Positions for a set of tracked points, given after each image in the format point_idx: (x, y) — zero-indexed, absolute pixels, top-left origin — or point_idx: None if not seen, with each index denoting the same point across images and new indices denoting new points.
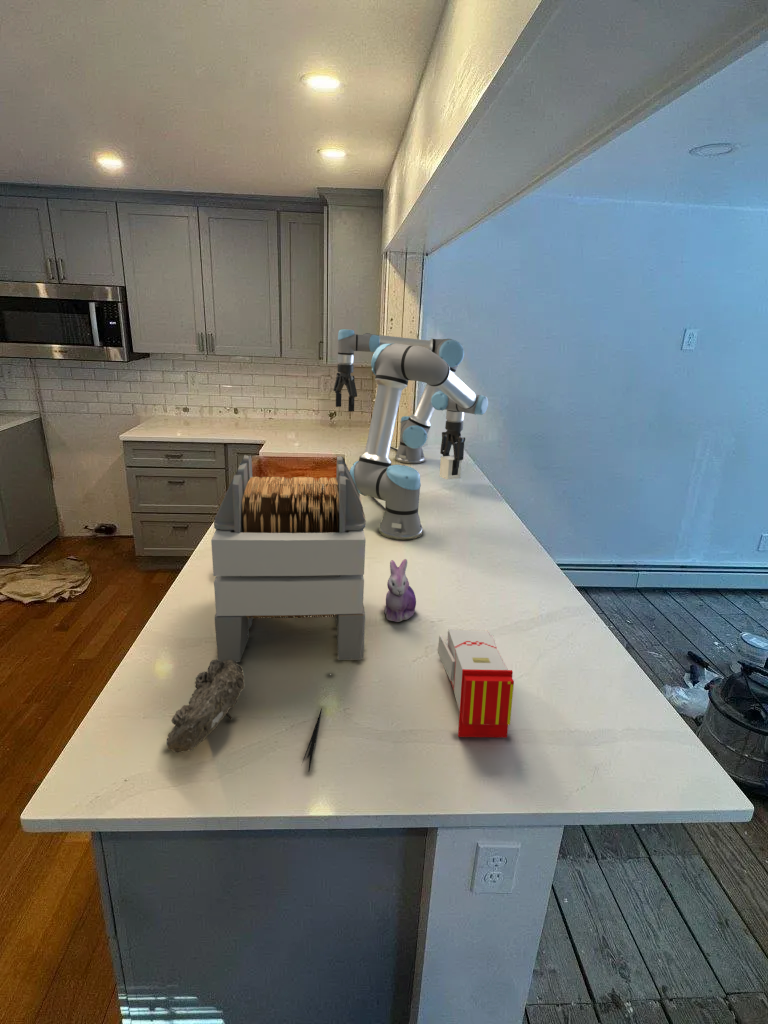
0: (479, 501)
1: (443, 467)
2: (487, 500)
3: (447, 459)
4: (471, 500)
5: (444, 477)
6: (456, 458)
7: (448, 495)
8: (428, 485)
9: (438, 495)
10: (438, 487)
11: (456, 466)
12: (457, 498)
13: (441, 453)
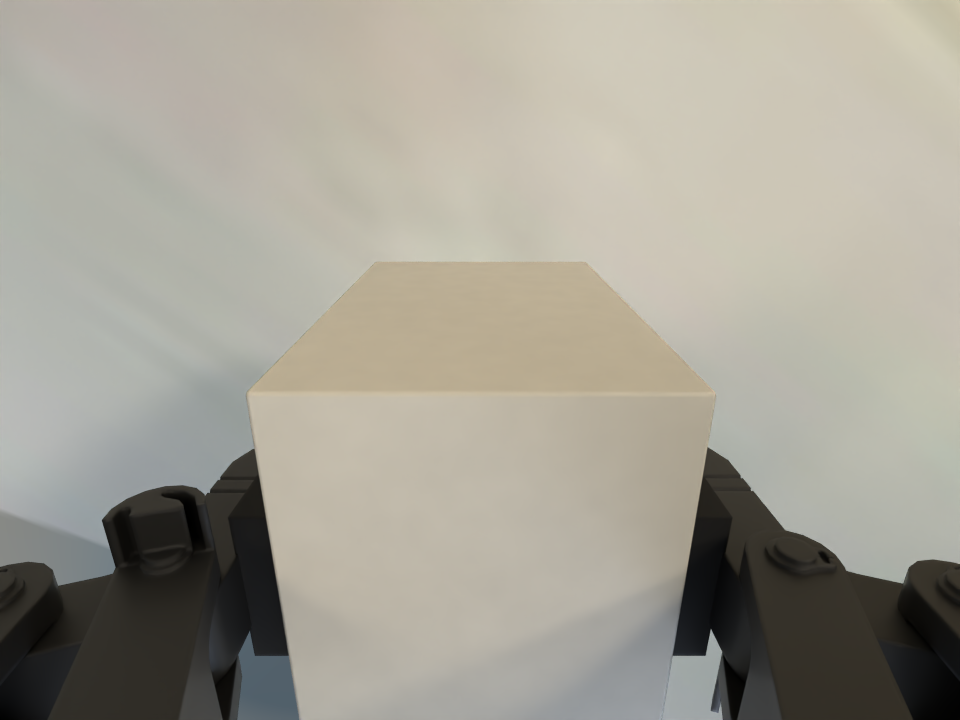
0: (30, 373)
1: (505, 304)
2: (48, 459)
3: (330, 388)
4: (74, 319)
5: (451, 265)
6: (113, 607)
7: (297, 188)
8: (720, 200)
9: (335, 64)
10: (597, 266)
11: (226, 473)
12: (170, 219)
13: (928, 577)
